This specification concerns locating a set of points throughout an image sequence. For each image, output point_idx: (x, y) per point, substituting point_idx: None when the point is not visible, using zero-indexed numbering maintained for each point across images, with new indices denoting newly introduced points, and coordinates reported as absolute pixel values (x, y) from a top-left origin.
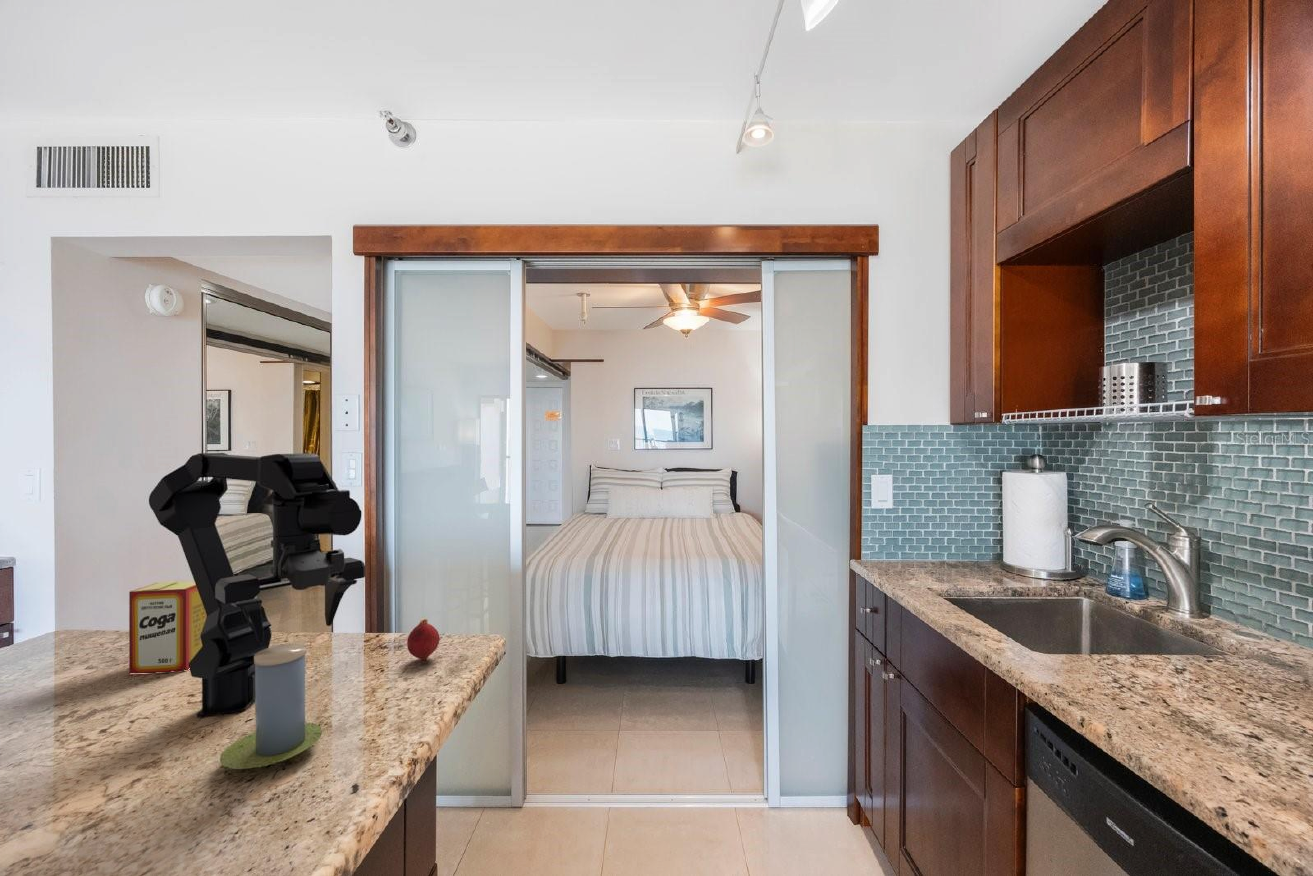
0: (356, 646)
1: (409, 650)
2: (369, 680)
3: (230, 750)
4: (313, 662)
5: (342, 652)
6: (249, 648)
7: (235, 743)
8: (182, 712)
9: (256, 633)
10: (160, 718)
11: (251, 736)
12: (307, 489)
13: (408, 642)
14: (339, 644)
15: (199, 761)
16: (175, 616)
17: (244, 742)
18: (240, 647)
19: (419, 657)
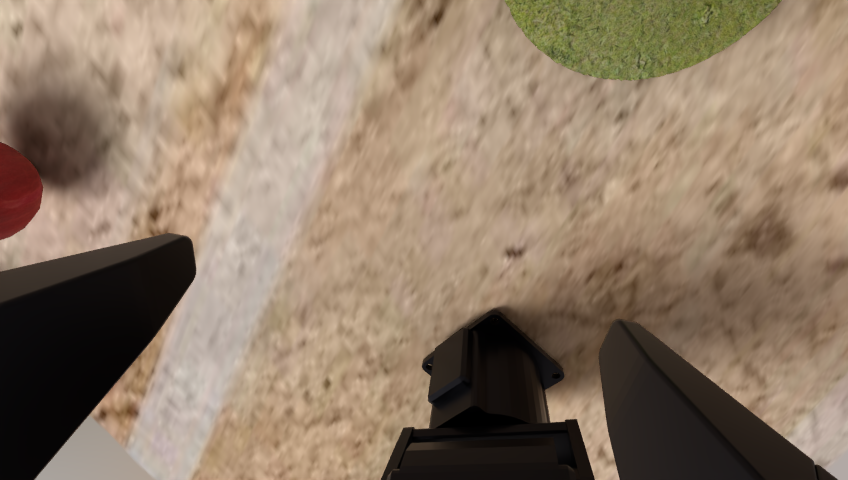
0: (162, 404)
1: (31, 193)
2: (204, 186)
3: (745, 7)
4: (268, 409)
5: (198, 402)
6: (481, 458)
7: (696, 55)
8: (556, 418)
9: (704, 380)
10: (593, 429)
11: (639, 60)
12: None
13: (4, 209)
14: (189, 443)
15: (722, 131)
16: None
17: (682, 30)
18: (521, 473)
19: (28, 160)
